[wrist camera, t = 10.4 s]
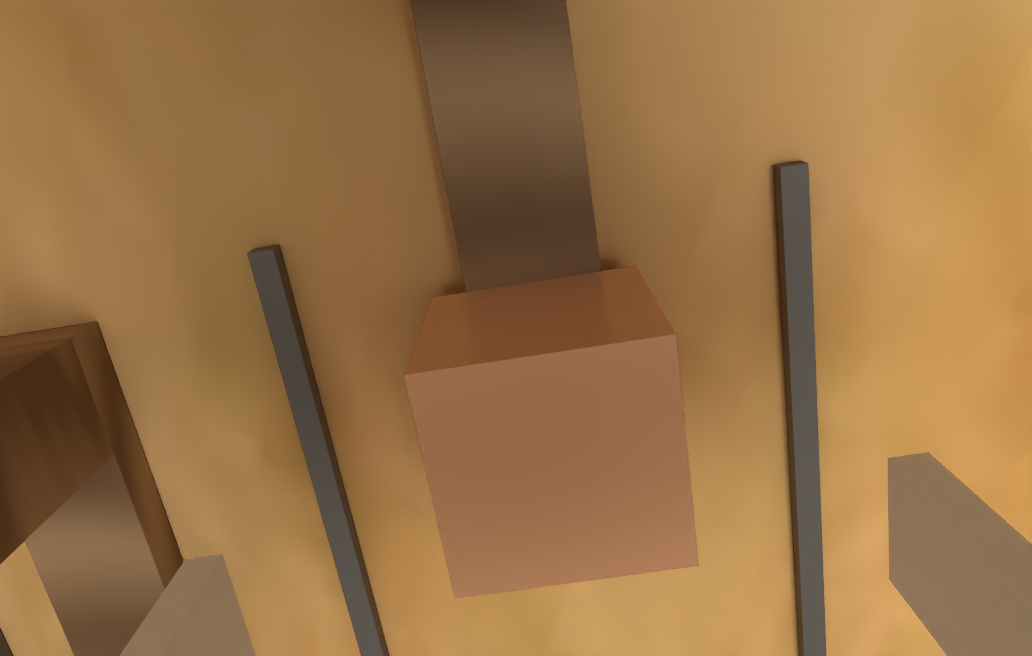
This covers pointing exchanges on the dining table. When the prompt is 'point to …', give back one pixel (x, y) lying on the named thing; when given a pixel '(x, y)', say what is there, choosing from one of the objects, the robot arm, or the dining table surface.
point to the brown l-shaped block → (509, 138)
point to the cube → (553, 433)
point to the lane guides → (798, 406)
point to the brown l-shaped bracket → (80, 487)
